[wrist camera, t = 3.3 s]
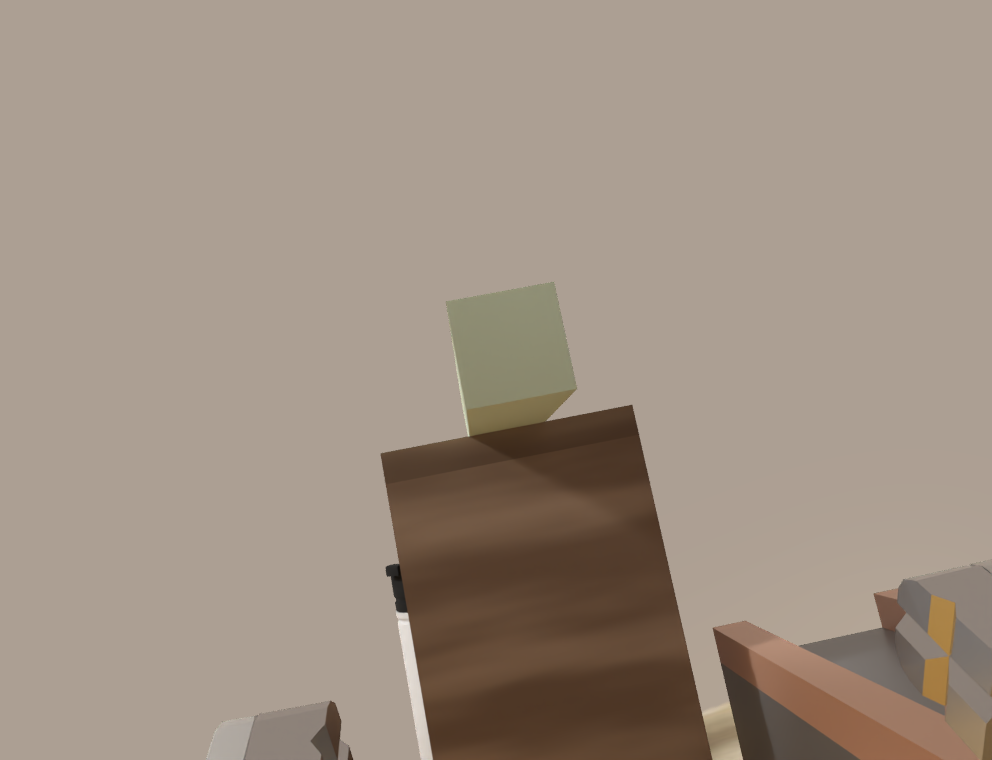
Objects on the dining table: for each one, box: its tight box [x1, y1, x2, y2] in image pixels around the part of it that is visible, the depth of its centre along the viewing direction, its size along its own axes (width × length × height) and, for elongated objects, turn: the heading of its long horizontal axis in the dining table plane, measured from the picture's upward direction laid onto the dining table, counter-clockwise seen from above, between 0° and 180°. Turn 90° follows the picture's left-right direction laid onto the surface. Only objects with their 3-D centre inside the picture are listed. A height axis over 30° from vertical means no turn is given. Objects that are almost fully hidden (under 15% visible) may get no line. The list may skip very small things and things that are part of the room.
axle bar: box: [446, 282, 577, 437], centre depth 31 cm, size 24×3×3 cm, turn 3°
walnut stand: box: [381, 405, 712, 760], centre depth 34 cm, size 16×10×26 cm, turn 3°
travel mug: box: [386, 564, 433, 760], centre depth 51 cm, size 6×7×20 cm
